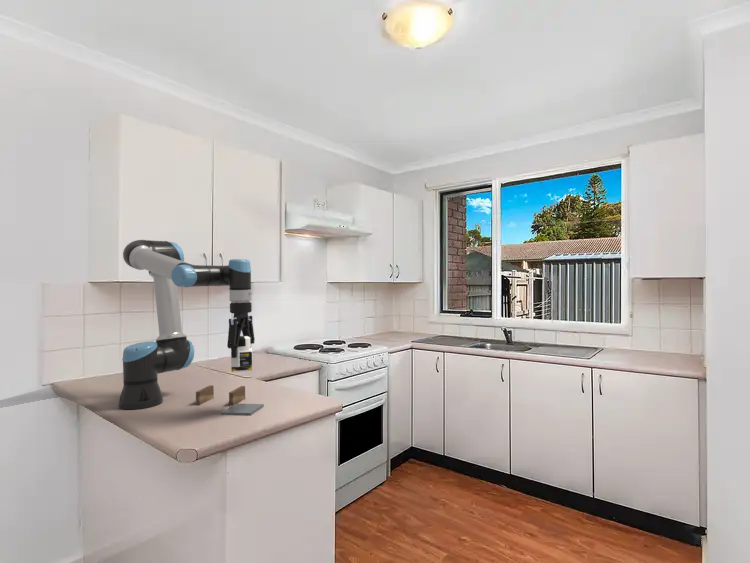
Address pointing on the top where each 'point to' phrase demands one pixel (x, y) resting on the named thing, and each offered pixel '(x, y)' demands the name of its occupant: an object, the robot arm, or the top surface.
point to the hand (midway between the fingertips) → (242, 364)
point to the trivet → (242, 409)
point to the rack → (208, 394)
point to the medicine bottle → (244, 355)
